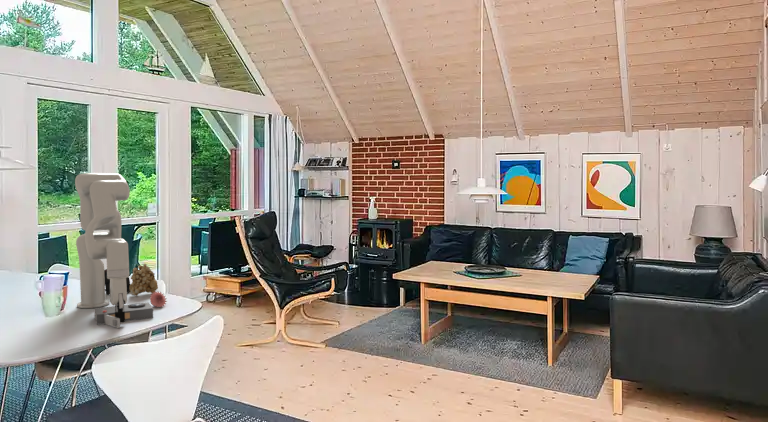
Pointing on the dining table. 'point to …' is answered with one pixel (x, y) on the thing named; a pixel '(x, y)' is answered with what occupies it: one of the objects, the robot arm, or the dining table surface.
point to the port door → (111, 321)
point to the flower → (157, 299)
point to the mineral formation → (143, 281)
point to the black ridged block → (107, 283)
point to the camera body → (126, 312)
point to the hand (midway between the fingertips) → (120, 321)
